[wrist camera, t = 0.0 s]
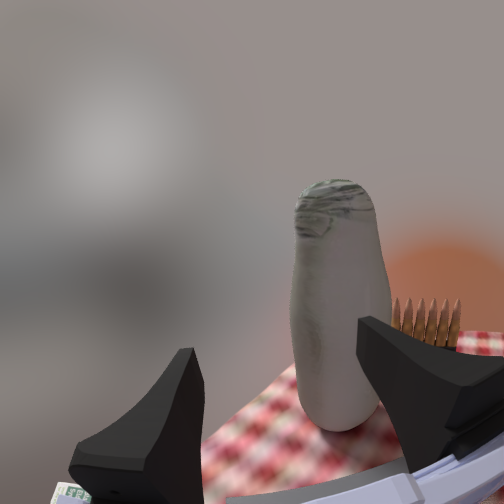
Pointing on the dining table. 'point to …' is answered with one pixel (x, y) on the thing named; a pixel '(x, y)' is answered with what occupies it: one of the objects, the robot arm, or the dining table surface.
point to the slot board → (326, 486)
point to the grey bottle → (335, 301)
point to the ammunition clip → (429, 323)
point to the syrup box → (70, 492)
